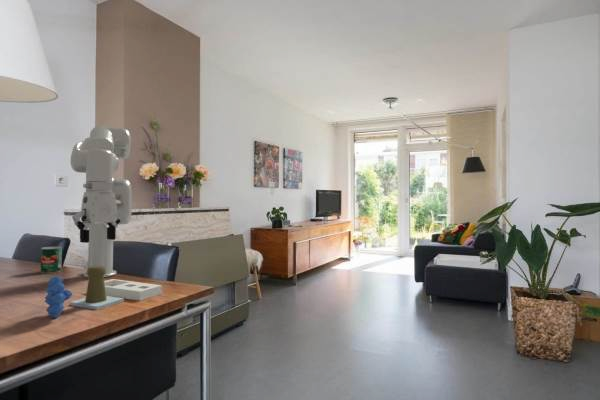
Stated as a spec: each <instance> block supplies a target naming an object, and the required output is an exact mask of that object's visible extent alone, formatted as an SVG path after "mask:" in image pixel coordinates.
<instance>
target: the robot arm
mask: <svg viewBox="0 0 600 400" xmlns="http://www.w3.org/2000/svg"><path fill="white" fill-rule="evenodd" d="M131 146H132V136H131V133H130V132H129V130H128V129H126V128H124V127H117V126H106V125H97V126H94V127H93V128H92V129H90V133H89V137H86V138H85V139H84V140H82V141H79V142H77V143H75V145H73V147H72V151H71V155H70V166H71V169H72V170H73V171H75V172H76V173H81V174H83V173H84V174H85V183H83V185H82V187H83V188H85V191H84V192H83V196H82V200H81V208H80V211H79V212H76V213H75V214H73V215H72V216H71V218H72V221H73V222H74V225H75V226H76V227H77V229H78V230H79V241H80V243H83V244H85V243H86V244H88V247H87V248H88V251H87V253H88V254H87V255H88V256H87V258H88V259H87V261H88V262H87V264H86V265H85V266H83V270H86V272H84V273H83V277H85V278H88V279H89V276H88V274H87V270H88V268H90V267H92V266H103V267H104V268H105V270H106V272H105V275H104V278H108V277H113V276H115V275H117V270H114V269H113V267H114V241H115V240H116V233H117V232H116V229H117V228H118V225H127V224H129V223H130V222H131V219H132V202H133V201H132V200H133V199H132V195H133V193H132V185H131V182H130V181H129V180H128V179H125V178H114V174H115V173H116V172H117V171H118V170H119V168H120V160H122V159H127V158H128V157H129V156H130V153H131ZM117 201H119V202H117Z"/></svg>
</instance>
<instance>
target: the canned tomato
mask: <svg viewBox="0 0 600 400" xmlns="http://www.w3.org/2000/svg"><path fill="white" fill-rule="evenodd" d="M62 252H63V246H58V245H57V246H44V247H41V248H40V274H57V273H60V272H62V261H63V259H62V257H63V253H62ZM56 272H57V273H56Z"/></svg>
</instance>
